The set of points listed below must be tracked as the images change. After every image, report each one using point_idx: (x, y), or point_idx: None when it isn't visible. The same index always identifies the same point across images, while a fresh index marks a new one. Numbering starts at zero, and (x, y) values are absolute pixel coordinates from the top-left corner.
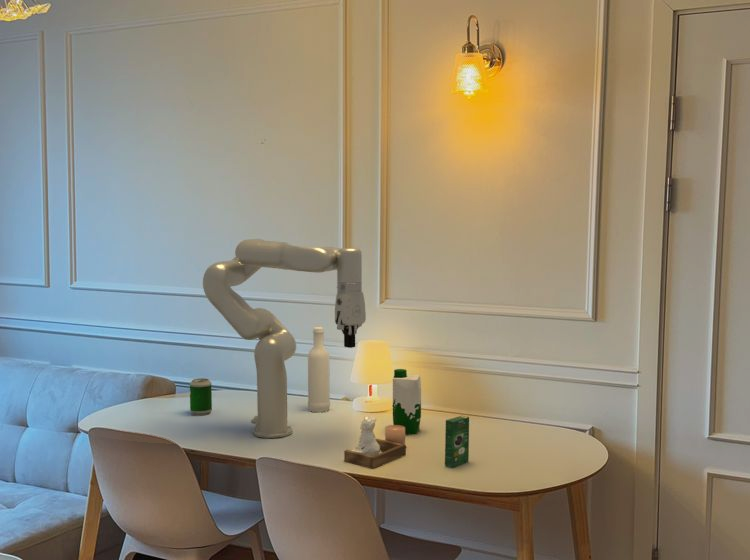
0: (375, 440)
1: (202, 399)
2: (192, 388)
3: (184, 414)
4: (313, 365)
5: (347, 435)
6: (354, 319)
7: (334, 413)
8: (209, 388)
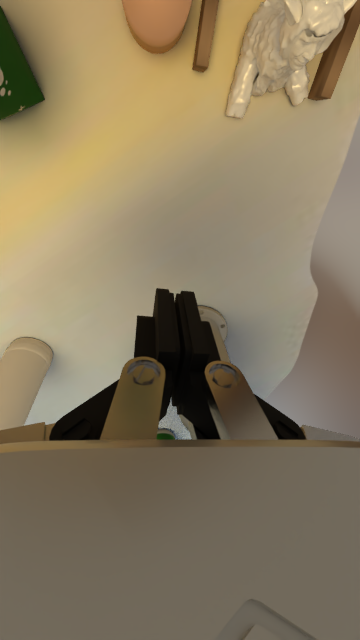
0: (282, 7)
1: None
2: None
3: None
4: None
5: (136, 212)
6: (325, 562)
7: (25, 321)
8: None
